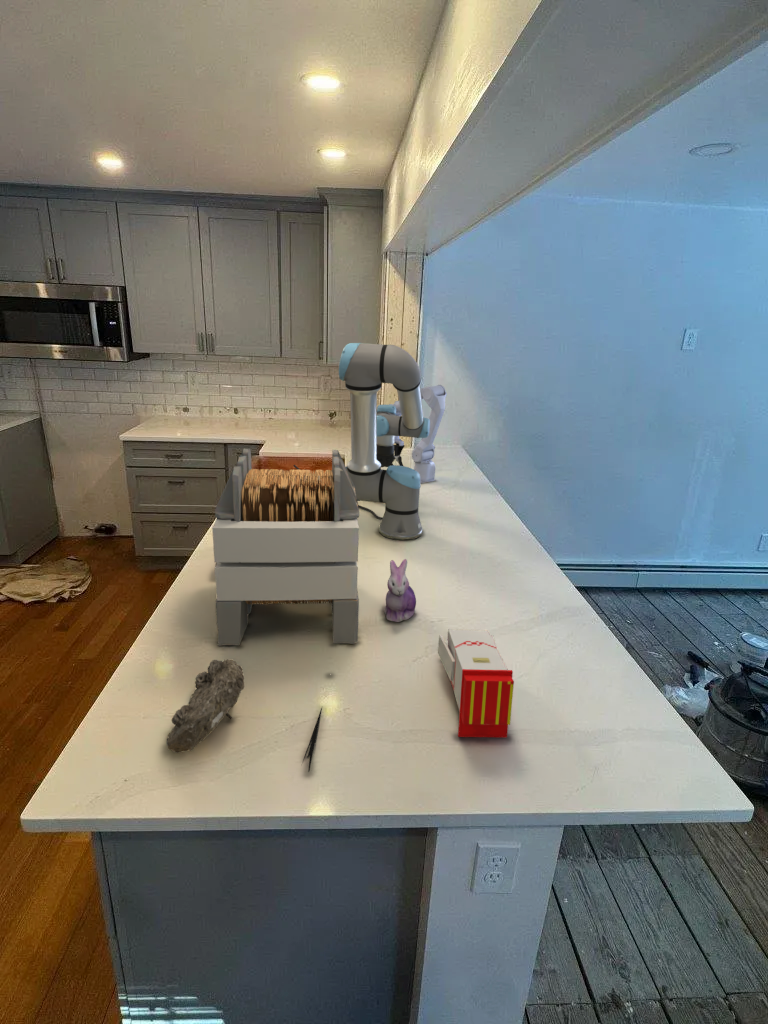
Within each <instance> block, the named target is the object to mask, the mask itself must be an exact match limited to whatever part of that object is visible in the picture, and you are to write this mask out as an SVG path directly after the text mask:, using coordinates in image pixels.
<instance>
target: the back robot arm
mask: <svg viewBox="0 0 768 1024" xmlns="http://www.w3.org/2000/svg"><path fill="white" fill-rule="evenodd" d="M420 396H421V400H424V401H425V403H426V404H427V406H428V407H429V408H430V409H431V411H430V412H429V416H428V419H429V420H430V430H429V435H428V437H427V438H420V439H421V440H420V441H419V442H418V443H416V445H415V447H414V449H413V450H412V452H411V458H412V460H413V463H414V468H413V469H414V470H415V471H417V472H418V473H419V475H420V484H423V483H430V482H431V483H432V482H436V479H435V477H436V463H435V462H434V461H433V458H434V457H435V449H436V445H434V442H435V439H436V436H437V433H438V430H439V428H440V424H441V422H442V420H443V416H444V413H445V411H446V398H447V396H448V393H447V391H446V388H445V387H444V386H443V385H442V384H438V385H425V386H424V387H421V388H420ZM388 405H393V406H395V407H396V416H402V414H401V409H400V404H399V400H396V401H394V403H389V404H388ZM393 445H394V456H398V455H400V456H401V454H402V451H403V450H404V448H405V441H404V440H402V439H401V438H400V436H395V443H394V444H393Z"/></svg>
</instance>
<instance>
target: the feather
mask: <svg viewBox="0 0 768 1024" xmlns="http://www.w3.org/2000/svg"><path fill="white" fill-rule="evenodd" d="M329 675H330V676H331V675H332V674H331V673H330V674H329ZM322 710H323V707H321V708H320V710H319V713H318V716H317V719H316V723H315V725H314V728H313V731H312V733H311V737H310V739H309V742H308V745H307V748H306V751H305V754H304V757H303V760H302V763H301V767H302V765H303V763H304V761H305V758H308V759H309V760H308V762H307V763H308V764H307V766H308V771H310V770H311V766H312V765H311V764H312V760H313V757H315V756H314V755H315V751H316V749H315V746H317V739H318V733H319V729H320V722H321V717H322V712H323V711H322ZM313 754H314V755H313ZM306 755H307V757H306Z"/></svg>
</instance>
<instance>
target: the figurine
mask: <svg viewBox="0 0 768 1024" xmlns="http://www.w3.org/2000/svg"><path fill="white" fill-rule="evenodd" d="M407 567H408V559H406V558H404V559H403V560H402V561H401V563H400V565H399V566H398V565H397V563H396V562H395V561H394V560H393V559H391V560H390V561H389V570H390V576H389V578H388V579H387V589H388V591H387V592H386V594H385V595H386V596H385V607H384V615H385V616H386V620H387V621H391V622H395V623H400V622H402V621H406V620H409V619H410V618H411V617H413V616H414V615H415V610H416V606H417V597H416V593H415V591H414V590H413V587H411V586H410V582H409V579H408V577H407V574H406V571H407Z"/></svg>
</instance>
